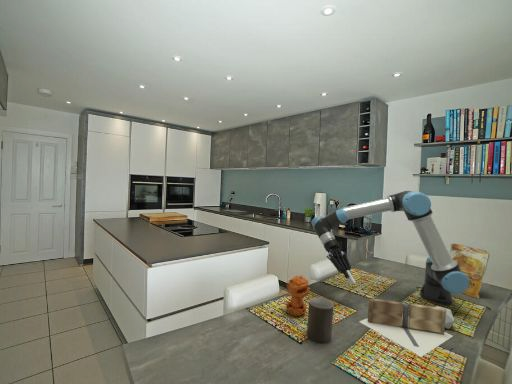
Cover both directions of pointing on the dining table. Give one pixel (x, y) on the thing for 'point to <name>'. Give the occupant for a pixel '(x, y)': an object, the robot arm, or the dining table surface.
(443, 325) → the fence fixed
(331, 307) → the pillar candle
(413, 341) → the board
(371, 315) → the fence gate
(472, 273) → the pancake mix bag
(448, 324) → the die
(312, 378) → the dining table surface
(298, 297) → the orange carved figurine
